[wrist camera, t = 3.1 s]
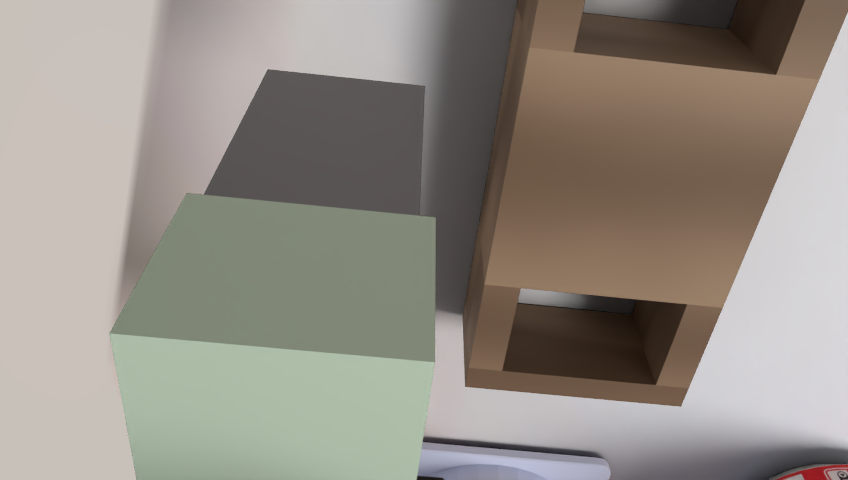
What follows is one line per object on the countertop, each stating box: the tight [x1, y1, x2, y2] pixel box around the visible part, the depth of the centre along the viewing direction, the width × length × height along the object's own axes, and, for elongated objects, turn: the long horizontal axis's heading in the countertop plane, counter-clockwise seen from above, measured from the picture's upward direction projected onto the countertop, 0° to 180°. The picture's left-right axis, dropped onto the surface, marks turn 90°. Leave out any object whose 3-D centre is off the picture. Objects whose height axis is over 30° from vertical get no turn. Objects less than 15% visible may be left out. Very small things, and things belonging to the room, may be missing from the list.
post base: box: [463, 0, 848, 406], centre depth 18 cm, size 13×6×3 cm, turn 174°
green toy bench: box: [109, 69, 436, 480], centre depth 12 cm, size 10×3×6 cm, turn 174°
